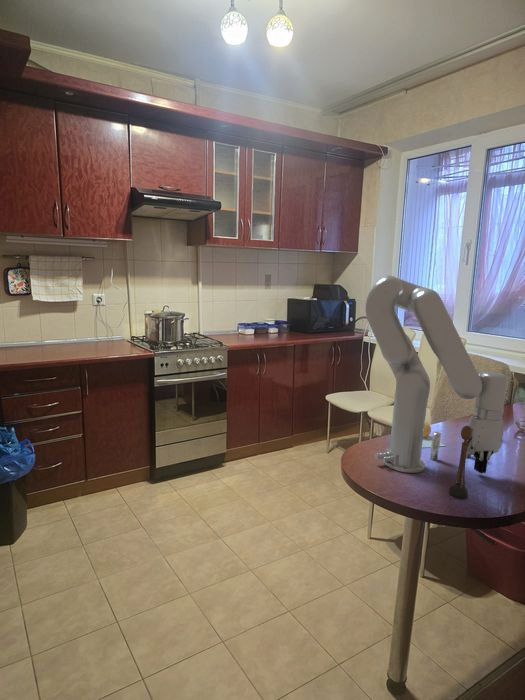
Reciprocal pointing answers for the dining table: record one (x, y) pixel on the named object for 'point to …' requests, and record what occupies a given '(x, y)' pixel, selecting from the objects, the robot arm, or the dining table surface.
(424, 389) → the robot arm
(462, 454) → the wooden tabletop sculpture
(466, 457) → the right post
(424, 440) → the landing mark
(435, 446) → the left post
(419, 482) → the dining table surface
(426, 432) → the ball
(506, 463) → the dining table surface
